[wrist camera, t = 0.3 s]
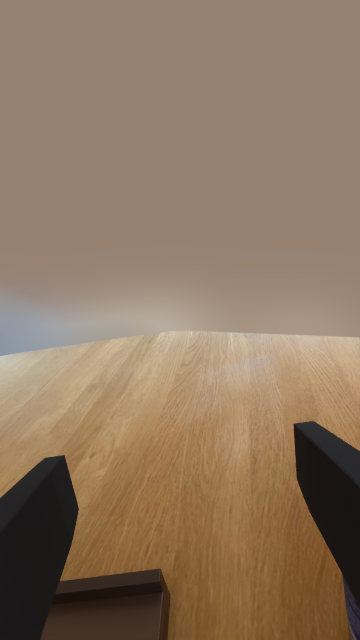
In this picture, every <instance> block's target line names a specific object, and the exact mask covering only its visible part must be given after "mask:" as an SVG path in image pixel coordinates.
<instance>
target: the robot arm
mask: <svg viewBox="0 0 360 640" xmlns="http://www.w3.org/2000/svg"><path fill="white" fill-rule="evenodd" d="M294 439H295V455H296V472H297V481H298V483H299V486H300V488H301V491H302V494H303V496H304V499H305V501H306V504H307V506H308V509H309V511H310V513H311V515H312V517H313V519H314V521H315V523H316V525H317V527H318V529H319V531H320V532H321V534H322V536H323V538H324V540H325V542H326V544H327V546H328V547H329V549H330V551H331V553H332V555H333V557H334V559H335V561H336V562H337V564H338V566H339V568H340V570H341V572H342V574H343V576H344V577H345V579H346V581H347V583H348V585H349V587H350V589H351V591H352V593H353V595H354V597H355V599H356V601H357V603H358V605H359V607H360V451H359V450H357V449H355V448H354V447H352V446H351V445H349V444H348V443H346V442H345V441H343V440H342V439H340V438H339V437H337V436H336V435H334V434H333V433H331V432H329V431H328V430H326V429H325V428H323V427H322V426H320V425H319V424H317V423H316V422H314V421H310V422H303V423H296V424H294ZM78 510H79V508H78V504H77V500H76V496H75V493H74V489H73V485H72V481H71V478H70V474H69V470H68V467H67V463H66V459H65V455H62V456H55V457H48V458H45V459H43V460H42V461H41V462H40V463H38V464H37V465H36V466H35V467H34V468H33V469H32V470H31V471H29V472H28V473H27V474H26V475H25V476H24V477H23V478H22V479H21V480H20V481H19V482H17V483H16V484H15V485H14V486H13V487H12V488H11V489H10V490H9V491H8V492H7V493H5V494H4V495H3V496H2V497H1V498H0V640H40V639H41V635H42V632H43V629H44V626H45V623H46V620H47V617H48V614H49V611H50V608H51V605H52V602H53V599H54V596H55V593H56V590H57V587H58V584H59V581H60V578H61V575H62V572H63V569H64V566H65V563H66V560H67V557H68V554H69V550H70V547H71V544H72V540H73V535H74V531H75V526H76V521H77V515H78Z"/></svg>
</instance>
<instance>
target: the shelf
mask: <svg viewBox="0 0 360 640" xmlns="http://www.w3.org/2000/svg"><path fill="white" fill-rule="evenodd" d="M169 606H170V593H169V591H168V588H167V586H166V583H165V580H164V577H163V575H162V572H161V569H154V570H146V571H138V572H130V573H122V574H114V575H106V576H99V577H91V578H83V579H75V580H67V581H59V584H58V587H57V590H56V593H55V596H54V599H53V602H52V605H51V608H50V611H49V614H48V617H47V620H46V623H45V626H44V629H43V632H42V635H41V639H40V640H167V635H168V620H169Z"/></svg>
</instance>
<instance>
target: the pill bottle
mask: <svg viewBox="0 0 360 640" xmlns="http://www.w3.org/2000/svg"><path fill="white" fill-rule="evenodd" d="M342 575H343V574H342ZM343 583H344V592H345V600H346V609H347V618H348V626H349V631H350V635H351V639H352V640H360V607H359V605H358V603H357V601H356V599H355V597H354V595H353V593H352V591H351V589H350V587H349V585H348V583H347V581H346V579H345V577H344V576H343Z"/></svg>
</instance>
